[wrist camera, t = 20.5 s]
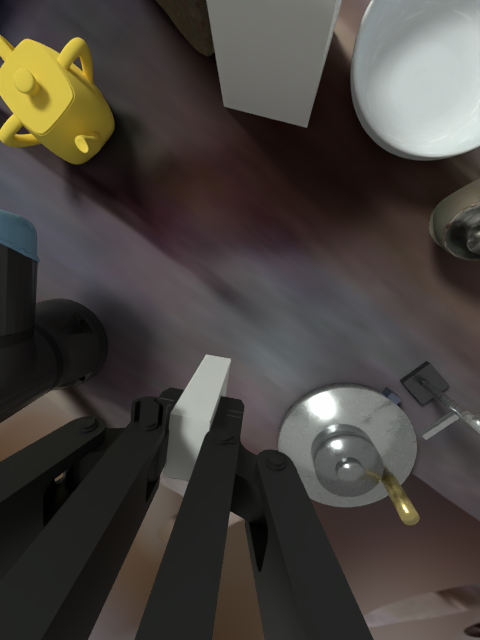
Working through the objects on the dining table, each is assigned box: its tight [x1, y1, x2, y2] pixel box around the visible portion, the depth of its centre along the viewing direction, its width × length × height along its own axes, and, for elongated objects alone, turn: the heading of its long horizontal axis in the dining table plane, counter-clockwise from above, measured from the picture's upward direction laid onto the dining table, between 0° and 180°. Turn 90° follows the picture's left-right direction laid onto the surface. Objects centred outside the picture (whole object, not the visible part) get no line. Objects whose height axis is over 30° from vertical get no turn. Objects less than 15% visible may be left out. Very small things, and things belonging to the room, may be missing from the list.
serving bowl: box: [350, 0, 480, 161], centre depth 34 cm, size 21×21×7 cm
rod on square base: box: [400, 361, 480, 440], centre depth 39 cm, size 8×6×16 cm
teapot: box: [0, 35, 115, 164], centre depth 37 cm, size 14×13×10 cm
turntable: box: [278, 383, 420, 525], centre depth 44 cm, size 23×22×9 cm
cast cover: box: [311, 424, 384, 497], centre depth 44 cm, size 10×10×6 cm
